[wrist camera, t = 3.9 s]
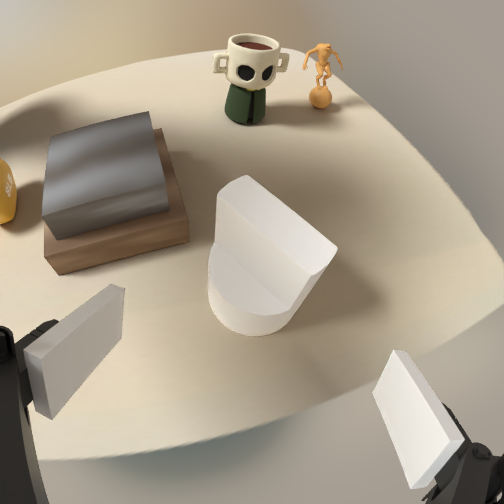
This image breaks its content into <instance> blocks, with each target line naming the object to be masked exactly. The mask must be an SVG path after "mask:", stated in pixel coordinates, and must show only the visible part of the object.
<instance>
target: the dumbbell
mask: <svg viewBox="0 0 504 504" xmlns="http://www.w3.org/2000/svg"><path fill="white" fill-rule="evenodd" d="M16 202H17V190H16V185H15V182H14V178H13V175H12V172H11V169H10V167H9V166H8V164H7V163H6V162H5V161H3V160H2V159H1V158H0V224H3V223H6V222H8V221H11V220H12V219H13V218H14V216H15V211H16Z"/></svg>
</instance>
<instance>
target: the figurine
mask: <svg viewBox="0 0 504 504" xmlns="http://www.w3.org/2000/svg"><path fill="white" fill-rule="evenodd" d="M315 52H317V54H318V58H319V62H316V67H317V72H318V74H319V75H317V76H316V78H317V79H316V82H317V87H315V88H313V89H312V90H311V92H310V94H309V100H310V102H311V104H312V105H313V106H315V107H317V108H325V107H327V106H329V105H330V103H331V101H332V95H331V92H330V91H329V90H328V87H327V86H326V81H325V79H328V78H329V77H331V75H332V74H331V71H330V63H329V62H327V59H328V57H329V56H330V53H332V54H334V55H336V58H337V60H338V62H339V63H340V65H341V67H342V63H341V61H340V59H339V57H338V54H337V53H336V52H335V51H333V50H332V49H331V45H330V44H323V43H320V44H318V45H317V47H315V48H314V49H312V50H310V51H308V52H307V53H306V57H305V61H304V64H303V68H304V70H306V67H307V65H306V63H307V61H308V57H309V54H311V53H315ZM326 62H327V63H326ZM323 67H324V68H323ZM307 68H308V67H307ZM342 69H343V68H342ZM323 71H325V72H326V73H327V75H325V76H324V78H323V87H321V86H320V84H319V79H320V78H321V77H322V76H323Z"/></svg>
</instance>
